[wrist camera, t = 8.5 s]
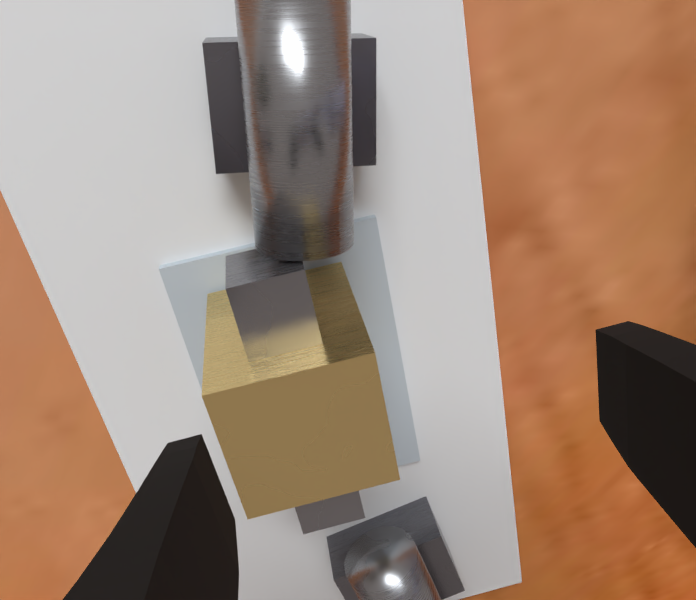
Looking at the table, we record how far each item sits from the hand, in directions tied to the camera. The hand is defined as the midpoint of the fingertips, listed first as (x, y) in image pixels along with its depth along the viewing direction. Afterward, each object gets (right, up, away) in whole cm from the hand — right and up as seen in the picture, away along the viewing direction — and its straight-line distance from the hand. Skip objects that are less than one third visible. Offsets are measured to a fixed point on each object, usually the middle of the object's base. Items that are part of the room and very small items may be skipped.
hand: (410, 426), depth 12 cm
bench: (-3, 0, +10) cm, 11 cm away
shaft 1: (-3, +8, +6) cm, 10 cm away
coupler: (-3, +1, +8) cm, 9 cm away
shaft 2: (0, -7, +13) cm, 15 cm away
